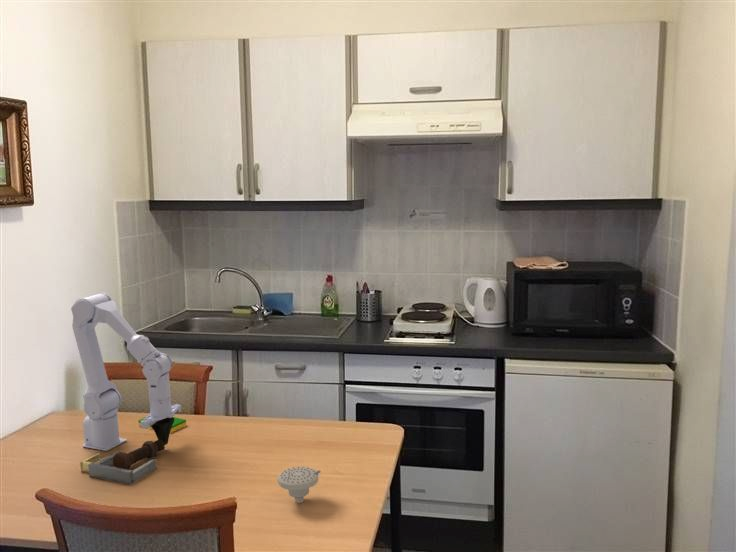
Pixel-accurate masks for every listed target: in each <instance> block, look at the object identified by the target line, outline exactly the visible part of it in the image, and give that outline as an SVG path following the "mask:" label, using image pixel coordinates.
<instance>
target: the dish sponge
mask: <svg viewBox="0 0 736 552" xmlns="http://www.w3.org/2000/svg"><path fill="white" fill-rule="evenodd" d="M146 417H147V416H145V417H142V418H140V419H138V427H139V426H141V423H140V421H142V420H144V419H145V418H146ZM172 418H174V423H173V425H172V427H171V430H170V434H173V433H175V432H176V430H177V431H179V430H181V429H183V428H185V427H187V419H185V418H179V417H174V416H173V417H172ZM184 426H185V427H184ZM182 427H183V428H182ZM149 428H150V429H149V430H152V427H151V426H149ZM180 428H181V429H180ZM178 429H179V430H178ZM174 431H175V432H174Z"/></svg>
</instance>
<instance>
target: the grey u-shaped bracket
mask: <svg viewBox="0 0 736 552" xmlns="http://www.w3.org/2000/svg"><path fill="white" fill-rule="evenodd" d="M116 453H117V452H115V453H112V454H110V456H109V455H108V456H109V457H108V458H105V457H104V458H105V459H103V458H102V459H103V460H102V461H101V462H99V463H97V464H96V463H90V464H88V468H89V473H88V477H90V476H91V478H95V477H96V478H97V479H100V478H101V479H102V480H105V481H110V482H114V483H115V482H116V483H121V484H125V485H130V486H131V485H132V484H134V483H136V482H137V481H139V480H141V479H142V478H144V477H146V476H148V475H149V474H150V472H151V473H152V472H154V471H155V469H156V470H157V459H155V458H153V459H149V460H148V461H147V462H145V463H143V464H142V465H140V466H138V467H136V468H135V469H133V470H132V469H129V470H127V469H121V468H116V467H114V466H113V457H114V455H115V454H116ZM153 470H154V471H153ZM145 475H146V476H145ZM140 478H141V479H140Z"/></svg>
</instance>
